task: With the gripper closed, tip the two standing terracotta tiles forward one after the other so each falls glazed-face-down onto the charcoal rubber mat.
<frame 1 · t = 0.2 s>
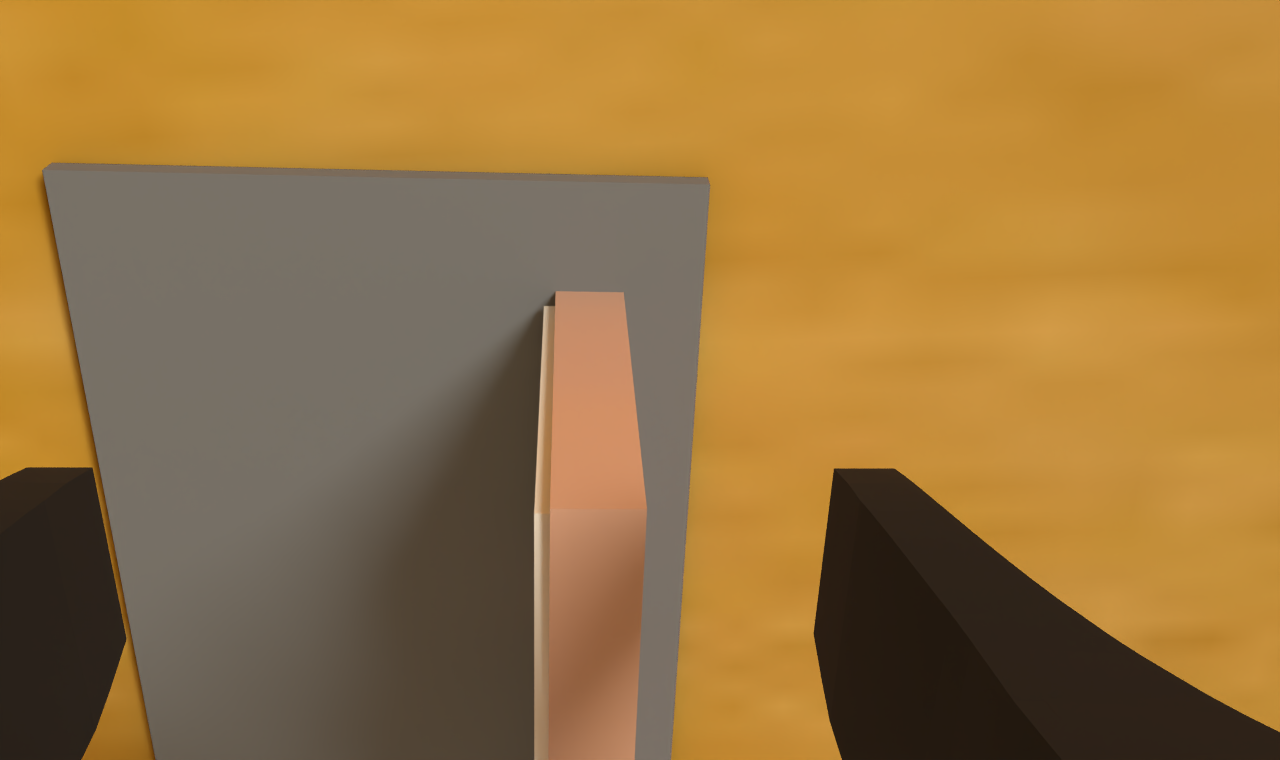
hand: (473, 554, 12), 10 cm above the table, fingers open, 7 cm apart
tile b: (586, 439, 22), resting on mat
mat: (409, 579, 24), on the table
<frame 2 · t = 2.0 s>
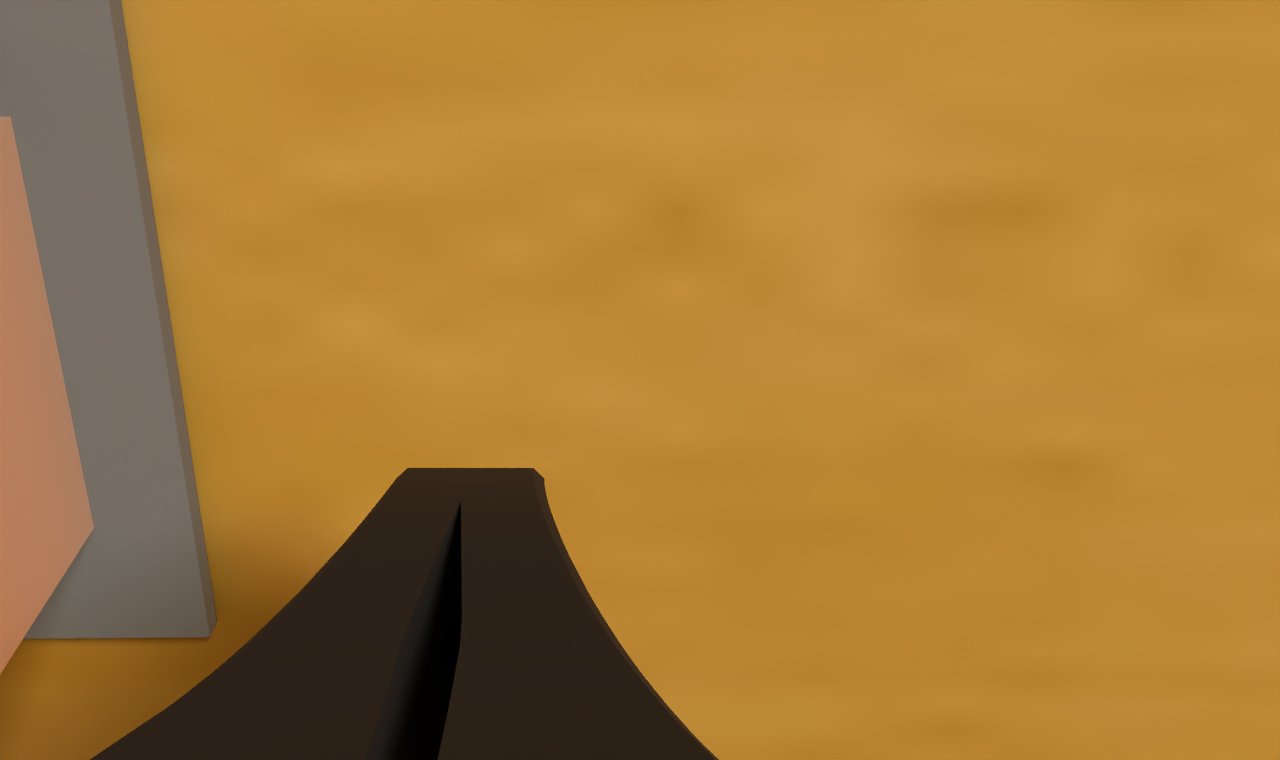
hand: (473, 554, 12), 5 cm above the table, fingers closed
tile a: (9, 339, 16), resting on mat
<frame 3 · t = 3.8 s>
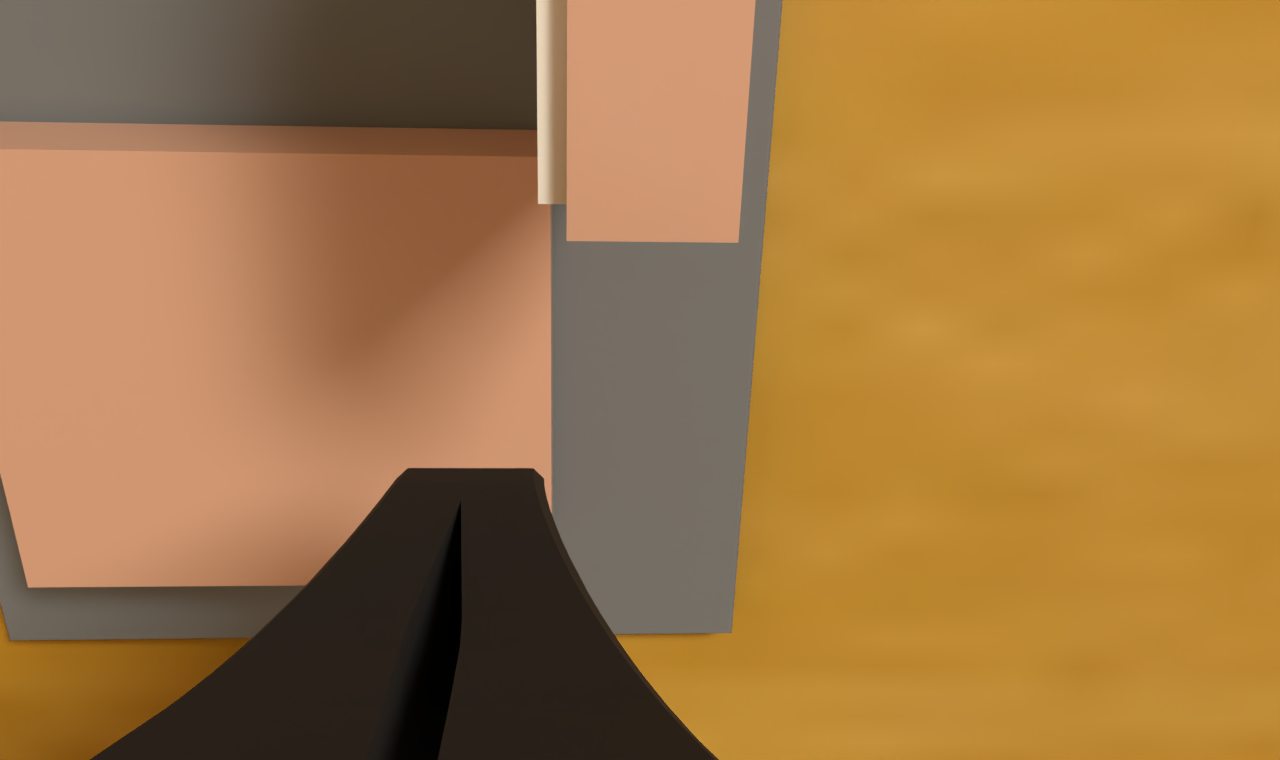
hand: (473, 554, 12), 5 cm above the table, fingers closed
tile a: (551, 368, 16), point 1 cm above the table, tilted 90°, touching mat
mat: (335, 74, 15), on the table
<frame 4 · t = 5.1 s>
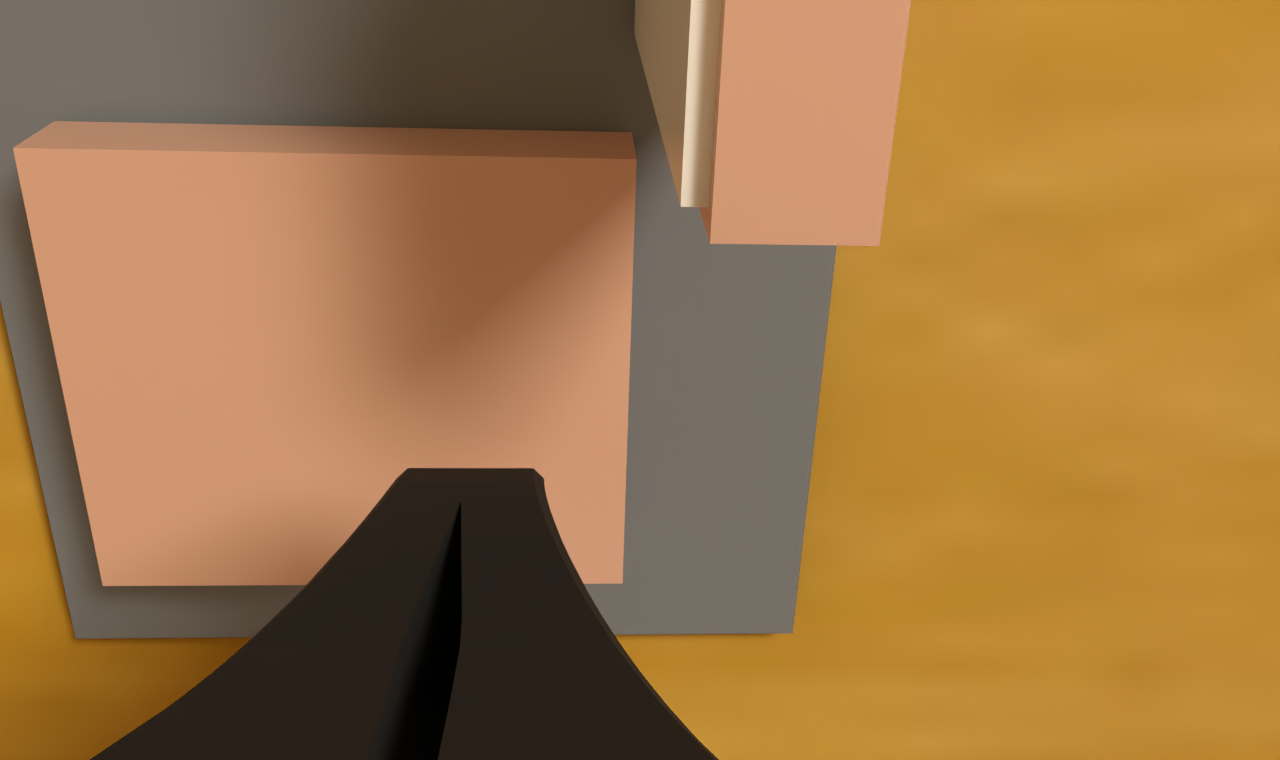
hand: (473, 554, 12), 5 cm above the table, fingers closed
tile a: (626, 369, 16), point 1 cm above the table, tilted 90°, touching mat
mat: (416, 76, 15), on the table
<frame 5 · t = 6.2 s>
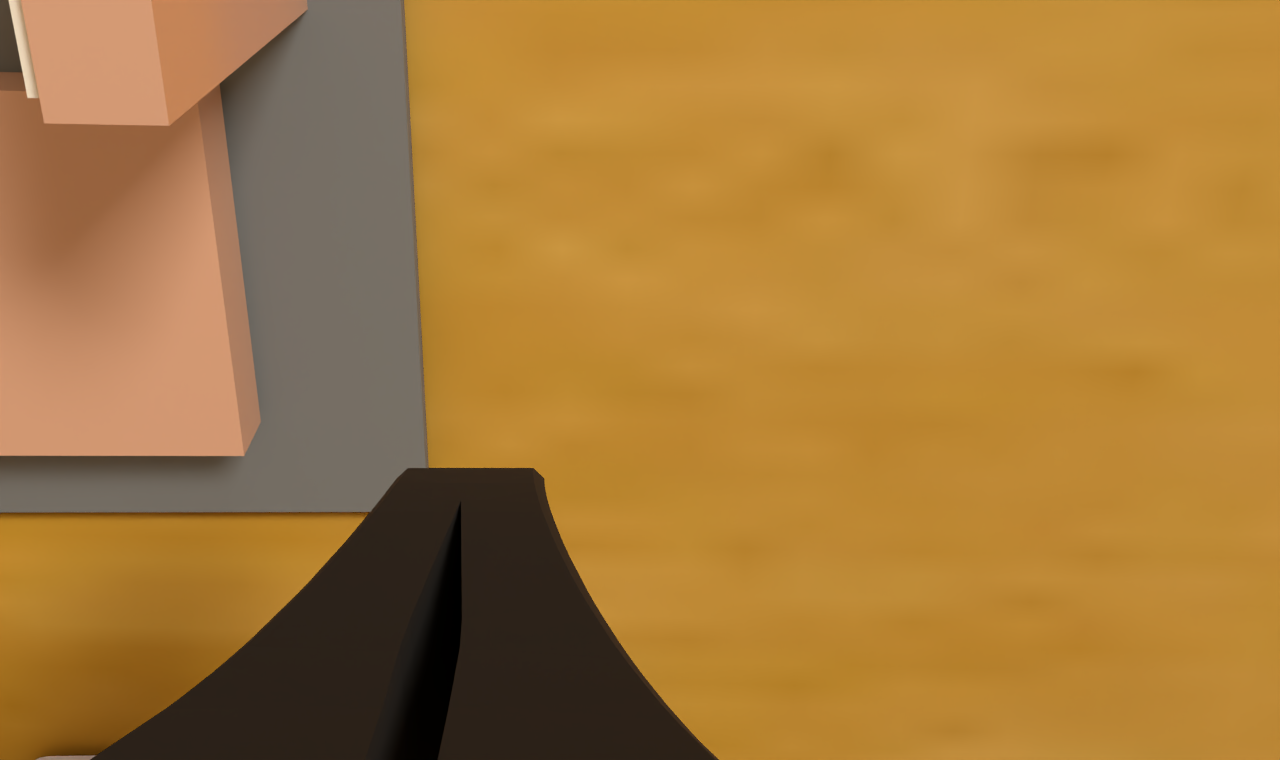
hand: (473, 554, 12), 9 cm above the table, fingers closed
tile a: (231, 274, 19), point 1 cm above the table, tilted 90°, touching mat
mat: (45, 31, 18), on the table
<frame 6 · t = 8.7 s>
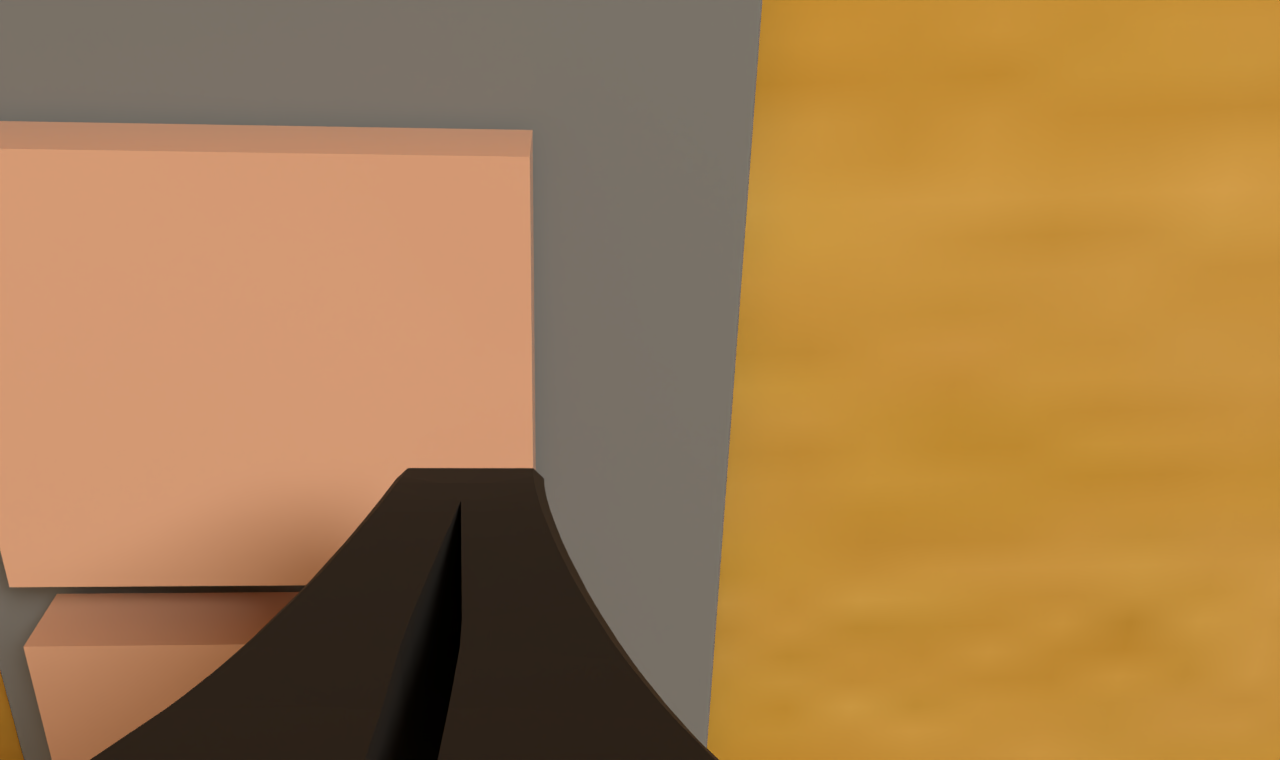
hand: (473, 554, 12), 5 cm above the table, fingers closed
tile b: (533, 368, 16), point 1 cm above the table, tilted 90°, touching mat
mat: (357, 540, 18), on the table
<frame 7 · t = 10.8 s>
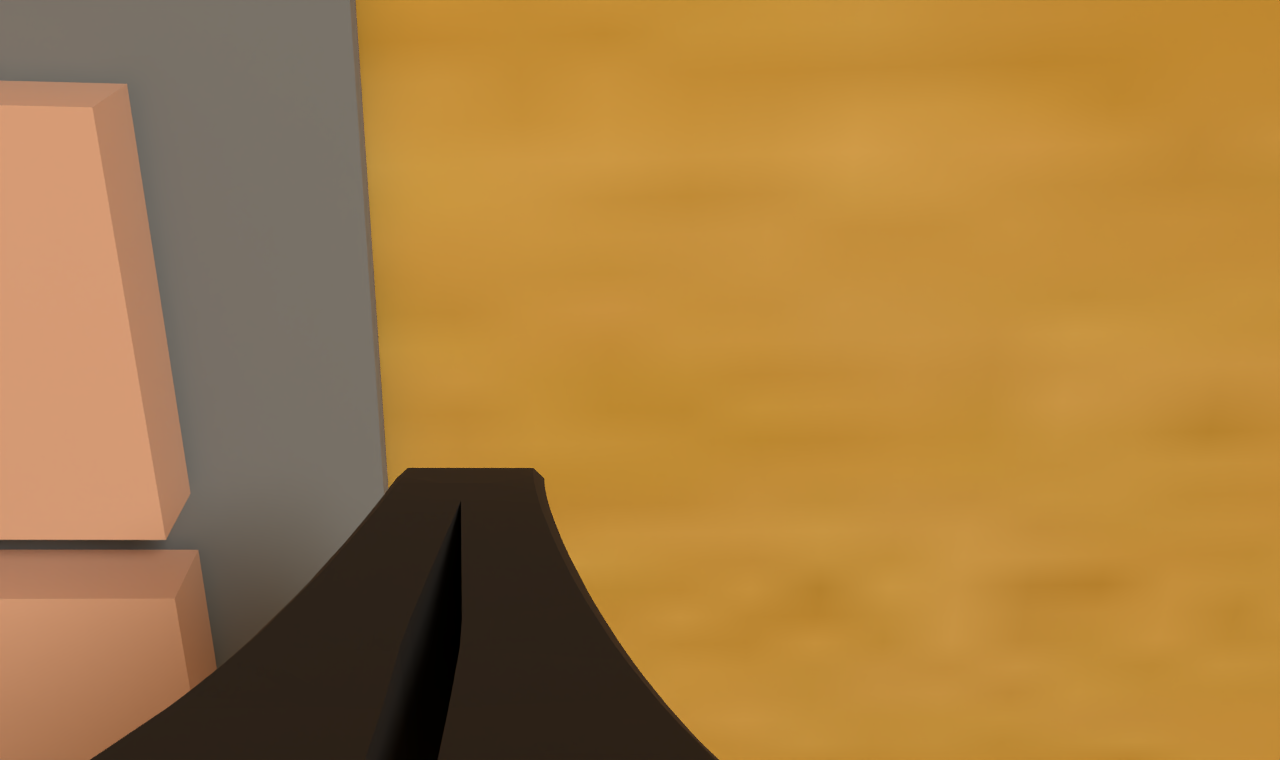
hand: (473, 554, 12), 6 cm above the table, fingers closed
tile a: (212, 729, 19), point 1 cm above the table, tilted 90°, touching mat
tile b: (147, 323, 16), point 1 cm above the table, tilted 90°, touching mat
mat: (23, 499, 18), on the table
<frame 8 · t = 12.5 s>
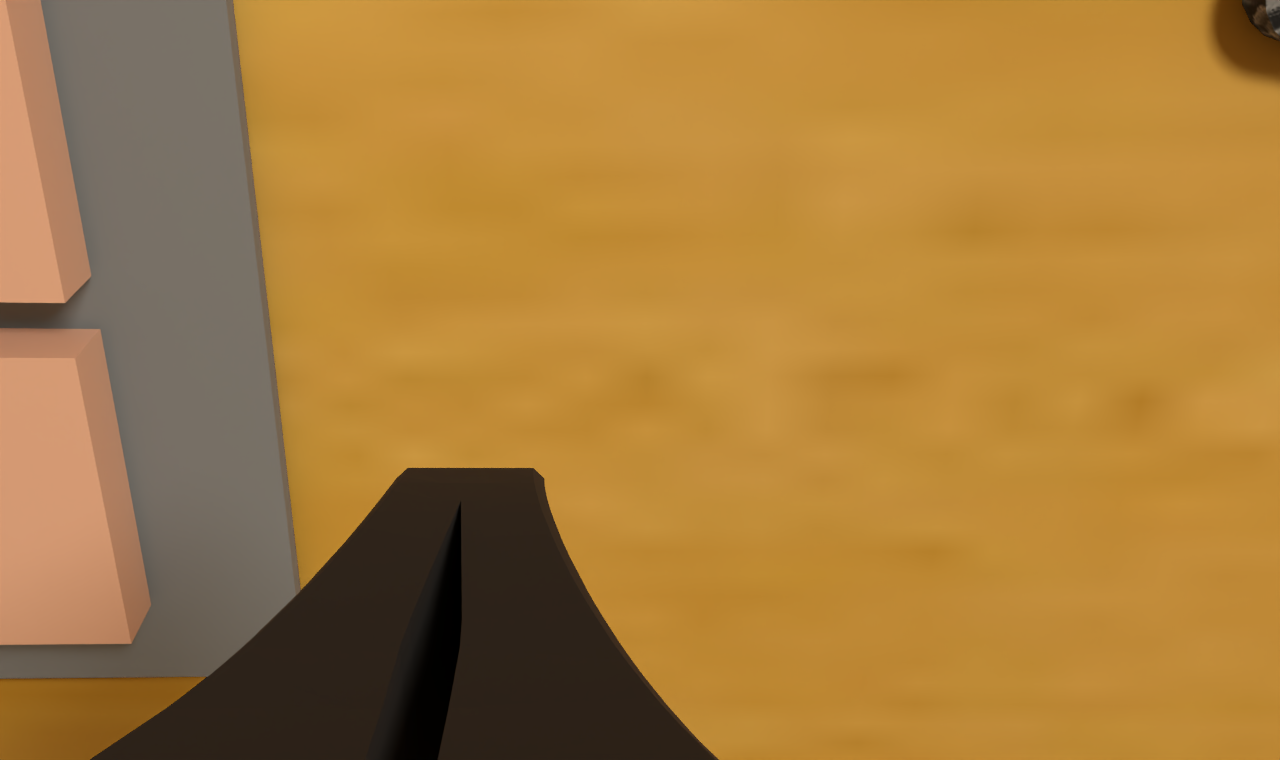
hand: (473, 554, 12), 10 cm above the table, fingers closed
tile a: (116, 492, 22), point 1 cm above the table, tilted 90°, touching mat
tile b: (44, 111, 19), point 1 cm above the table, tilted 90°, touching mat
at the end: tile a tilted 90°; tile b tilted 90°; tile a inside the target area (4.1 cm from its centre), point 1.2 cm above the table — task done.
